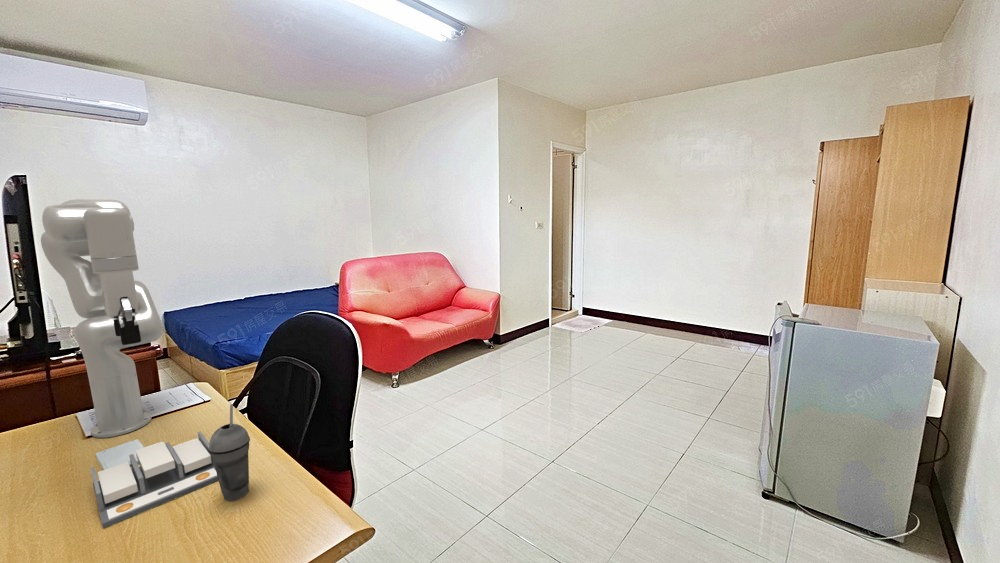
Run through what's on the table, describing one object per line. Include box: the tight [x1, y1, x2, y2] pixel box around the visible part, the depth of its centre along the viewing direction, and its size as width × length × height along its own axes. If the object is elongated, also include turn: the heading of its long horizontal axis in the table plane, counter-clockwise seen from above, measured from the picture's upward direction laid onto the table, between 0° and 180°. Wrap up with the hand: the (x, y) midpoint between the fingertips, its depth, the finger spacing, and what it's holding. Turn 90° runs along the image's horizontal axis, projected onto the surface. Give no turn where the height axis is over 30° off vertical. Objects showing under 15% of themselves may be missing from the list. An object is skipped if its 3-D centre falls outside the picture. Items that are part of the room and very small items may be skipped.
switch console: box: [90, 431, 219, 529], centre depth 92 cm, size 18×20×5 cm
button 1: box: [97, 462, 138, 504], centre depth 88 cm, size 11×5×3 cm, turn 48°
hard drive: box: [95, 438, 145, 470], centre depth 101 cm, size 2×8×12 cm
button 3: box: [172, 437, 212, 473], centre depth 98 cm, size 11×5×3 cm, turn 48°
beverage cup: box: [209, 403, 251, 502], centre depth 86 cm, size 7×7×20 cm
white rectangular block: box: [135, 441, 175, 478], centre depth 93 cm, size 11×5×3 cm, turn 48°
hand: (128, 338), depth 95 cm, fingers open, 9 cm apart
